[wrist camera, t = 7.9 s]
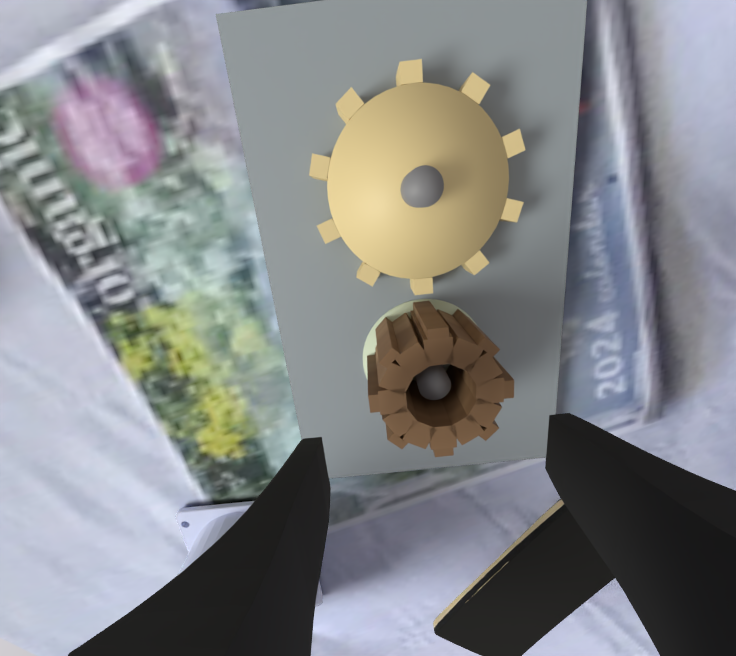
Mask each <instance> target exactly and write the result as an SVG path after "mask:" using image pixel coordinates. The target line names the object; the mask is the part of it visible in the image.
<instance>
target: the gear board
mask: <svg viewBox="0 0 736 656" xmlns="http://www.w3.org/2000/svg"><path fill="white" fill-rule="evenodd" d="M586 9H587V0H323V1H315V2H307V3H299V4H292V5H284V6H276V7H268V8H261V9H253V10H245V11H237V12H229V13H222V14H216V18H217V23H218V28H219V33H220V38H221V43H222V48H223V53H224V58H225V63H226V68H227V73H228V78H229V83H230V88H231V93H232V98H233V102H234V107H235V112H236V117H237V122H238V127H239V132H240V137H241V142H242V147H243V152H244V157H245V162H246V167H247V172H248V177H249V182H250V187H251V192H252V197H253V201H254V206H255V211H256V216H257V221H258V226H259V231H260V236H261V241H262V246H263V251H264V256H265V261H266V266H267V271H268V276H269V281H270V286H271V291H272V295H273V300H274V305H275V310H276V315H277V320H278V325H279V330H280V335H281V340H282V345H283V350H284V355H285V360H286V365H287V370H288V375H289V380H290V385H291V390H292V394H293V399H294V404H295V409H296V414H297V419H298V424H299V429H300V434H301V439H305V438H315V437H322V442H323V447H324V453H325V459H326V465H327V471H328V477H329V479H330V478H340V477H350V476H360V475H371V474H381V473H391V472H402V471H412V470H422V469H432V468H443V467H453V466H463V465H473V464H484V463H494V462H504V461H514V460H525V459H535V458H545V457H546V452H547V439H548V426H549V415H555V414H556V404H557V390H558V377H559V364H560V351H561V338H562V325H563V312H564V298H565V285H566V272H567V259H568V246H569V233H570V219H571V206H572V193H573V180H574V167H575V154H576V141H577V127H578V114H579V101H580V88H581V75H582V62H583V48H584V35H585V22H586ZM421 301H430V302H431V304H432V305H433V306H434V308H435V309H436V311H437V309H439V310H441V311H444V312H446V313H448V314H451V315H453V314H454V313H455V312H456V310H457V309H459V310H460V311H462V312H463V313H464V314H465V315H466V316H468V317H469V318H470V319H471V320H472V321H473V322H474V323H475V324H476V325H477V326H478V327H479V328H480V329H481V330H482V331H483V332H484V333H485V334H486V335H487V336H488V337H489V339H490V340H491V341H492V342H493V343H494V344H495V345H496V346H497V347H498V348H499V349H500V350H499V352H498V353H497V354H496V355H495V356H494V357H495V359H496V360H497V361H498V362H499V363H500V364H501V365H502V367H503V368H504V369H505V370H506V371H507V372H508V373H509V374H510V376H511V377H512V378H513V379H514V398H507V399H504V402H500V404H501V406H502V408H501V410H500V412H499V413H498V415H497V416H496V418H495V419H494V420H495V422H496V423H497V425H498V427H499V429H498V430H497V431H496V432H495V433H494V434H493V435H492V436H491V437H490V438H488V439H487V440H486V441H485V440H484V439H482V438H481V437H480V436H478V437H476V438H474V439H472V440H471V441H469V442H467V443H466V444H464V445H461V443H460V442H459V441H458V439H457V447H455V448H453V450H454V455H453V456H443V457H435V456H434V452H433V450H431V448H430V445H429V444H428V446H427V448H426V449H423V448H421V447H418V446H415V445H412V444H410V443H408V444H407V445H406V446H405V447H404V448H403V449H400V448H399V447H397V446H396V445H394V444H393V443H391V442H390V441H388V440H387V432H386V423H385V422H384V421H383V420H382V415H380V412H374V413H370V407H369V399H368V375H367V356H368V355H375V352H376V351H375V347H376V345H377V341H376V331H375V329H376V328H377V326H378V325H379V324H380V323H381V322H382V320H383V319H384V318H385V317H387V318H388V319H389V320H390V321H392V322H393V321H394V320H396V319H397V318H398V317H400V316H401V315H403V314H404V313H407V315H408V316H409V318H410V319H411V314H410V311H412V310H413V302H421ZM449 366H450V364H444V365H435V366H429V367H428V368H426V369H425V370H423V371H422V372H420V373H419V374H417V375H415V376H414V377H413V380H415V381H416V382H417V386H418V389H419V392H420V394H421V395H422V396H423V397H424V398H426V399H429V400H439V399H441V398H443V397H445V396H446V395H447V394H448V392H449V391H450V388H451V381H450V379H449V377H448V375H447V373H446V371H447V369H448V367H449Z"/></svg>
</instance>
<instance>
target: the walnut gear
mask: <svg viewBox="0 0 736 656" xmlns="http://www.w3.org/2000/svg"><path fill="white" fill-rule="evenodd" d="M410 314H411V319H410V318H409V316H408V315H407V313H404V314H403V315H401V316H400V317H398V318H397V319H396V320H394V321H393V322H392V321H390V320H389V319H388V318H387V317H385V318H384V319H383V320H382V322H381V323H380V324H379V325H378V326H377V328H376V329H375V331H376V341H377V345H376V347H375V351H376V352H375V355H368V356H367V375H368V399H369V407H370V413H374V412H380V415H382V420H383V421H384V422H385V423H386V432H387V440H388V441H390V442H391V443H393V444H394V445H396V446H397V447H399V448H400V449H403V448H404V447H405V446H406V445H407V444H408V443H410V444H412V445H415V446H418V447H421V448H423V449H426V448H427V446H428V444H429V445H430V448H431V450H433V452H434V456H435V457H443V456H453V455H454V450H453V448H455V447H457V439H458V441H459V442H460V443H461V445H464V444H466V443H467V442H469V441H471V440H472V439H474V438H476V437H478V436H480V437H481V438H482V439H484V440H485V441H486V440H487V439H488V438H490V437H491V436H492V435H493V434H494V433H495V432H496V431H497V430H498V429H499V427H498V425H497V423H496V422H495V420H494V419H495V418H496V416H497V415H498V413H499V412H500V410H501V408H502V406H501V404H500V402H504V399H507V398H514V379H513V378H512V377H511V376H510V374H509V373H508V372H507V371H506V370H505V369H504V368H503V367H502V365H501V364H500V363H499V362H498V361H497V360H496V359H495V357H494V356H495V355H496V354H497V353H498V352H499V350H500V349H499V348H498V347H497V346H496V345H495V344H494V343H493V342H492V341H491V340H490V339H489V337H488V336H487V335H486V334H485V333H484V332H483V331H482V330H481V329H480V328H479V327H478V326H477V325H476V324H475V323H474V322H473V321H472V320H471V319H470V318H469V317H468V316H466V315H465V314H464V313H463V312H462V311H460V310H459V309H457V310H456V312H455V313H454V314H453V315H451V314H448V313H446V312H444V311H441V310H439V309H437V311H436V309H435V308H434V306H433V305H432V304H431V302H430V301H421V302H413V310H412V311H410ZM444 364H450V366H449V367H448V369H447V371H446V373H447V375H448V377H449V379H450V381H451V388H450V391H449V392H448V394H447V395H446V396H445V397H443V398H441V399H439V400H429V399H426V398H424V397H423V396H422V395H421V394H420V392H419V389H418V386H417V382H416V381H415V380H413V377H414V376H415V375H417V374H419V373H420V372H422V371H423V370H425V369H426V368H428V367H429V366H435V365H444Z"/></svg>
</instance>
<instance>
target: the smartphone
mask: <svg viewBox="0 0 736 656" xmlns="http://www.w3.org/2000/svg"><path fill="white" fill-rule="evenodd" d="M614 578H615V577H614V575H613V574H612V572H611V571H610V569H609V568H608V566H607V565H606V563H605V562H604V561H603V559H602V558H601V556H600V555H599V553H598V552H597V550H596V549H595V548H594V546H593V545H592V543H591V542H590V540H589V539H588V538H587V536H586V535H585V533H584V532H583V530H582V529H581V527H580V526H579V525H578V523H577V522H576V520H575V519H574V517H573V516H572V514H571V513H570V511H569V510H568V508H567V507H566V505H565V504H564V502H563V501H562V499H561V500H560V501H558V502H557V503H556V504H555V505H554V506H552V507H551V508H550V509H549V510H548V511H547V512H546V513H545V514H543V515H542V516H541V517H540V518H539V519H538V520H537V521H536V522H535V523H534V524H533V525H532V526H531V527H530V528H529V529H528V530H527V531H526V532H525V533H524V534H523V535H522V536H521V537H520V538H518V539H517V540H516V541H515V542H514V543H513V544H512V545H511V546H510V547H509V548H508V549H507V550H506V551H505V552H504V553H503V554H502V555H501V556H500V557H499V558H498V559H497V560H496V561H495V562H494V563H492V564H491V565H490V566H489V567H488V568H487V569H486V570H485V571H484V572H483V573H482V574H481V575H480V576H479V577H478V578H477V579H476V580H475V581H474V582H473V583H472V584H471V585H470V586H469V587H468V588H466V589H465V590H464V591H463V592H462V593H461V594H460V595H459V596H458V597H457V598H456V599H455V600H454V601H453V602H452V603H451V604H450V605H449V606H448V607H447V608H446V609H445V610H444V611H443V612H442V613H441V614H440V615H439V616H438V617H437V618H436V619H435V621H434V622H433V626H434V631H435V634H436V635H438V636H440V637H442V638H444V639H446V640H448V641H450V642H452V643H454V644H457V645H459V646H461V647H463V648H465V649H468V650H470V651H472V652H474V653H477V654H479V655H482V656H522V655H523V654H524V653H525V652H526V651H527V650H528V649H529V648H531V647H532V646H533V645H534V644H535V643H536V642H537V641H539V640H540V639H541V638H542V637H543V636H544V635H546V634H547V633H548V632H549V631H550V630H552V629H553V628H554V627H555V626H556V625H558V624H559V623H560V622H561V621H562V620H564V619H565V618H566V617H567V616H568V615H570V614H571V613H572V612H573V611H574V610H576V609H577V608H578V607H579V606H581V605H582V604H583V603H584V602H586V601H587V600H588V599H589V598H591V597H592V596H593V595H594V594H595V593H597V592H598V591H599V590H600V589H602V588H603V587H604V586H605V585H607V584H608V583H609V582H610V581H612V580H613V579H614Z"/></svg>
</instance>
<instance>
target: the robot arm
mask: <svg viewBox="0 0 736 656" xmlns="http://www.w3.org/2000/svg"><path fill="white" fill-rule="evenodd" d="M545 469H546V471H547V473H548V475H549V477H550V479H551V481H552V483H553V485H554V487H555V488H556V490H557V492H558V494H559V496H560V498H561V499H562V501H563V502H564V504H565V505H566V507H567V508H568V510H569V511H570V513H571V514H572V516H573V517H574V519H575V520H576V522H577V523H578V525H579V526H580V527H581V529H582V530H583V532H584V533H585V535H586V536H587V538H588V539H589V540H590V542H591V543H592V545H593V546H594V548H595V549H596V550H597V552H598V553H599V555H600V556H601V558H602V559H603V561H604V562H605V563H606V565H607V566H608V568H609V569H610V571H611V572H612V574H613V575H614V577H615V578H616V580H617V581H618V583H619V584H620V586H621V588H622V589H623V591H624V592H625V594H626V596H627V598H628V599H629V601H630V603H631V604H632V606H633V608H634V610H635V611H636V613H637V615H638V617H639V618H640V620H641V622H642V624H643V625H644V627H645V629H646V631H647V632H648V634H649V636H650V638H651V640H652V641H653V643H654V645H655V647H656V649H657V650H658V652H659V654H660V656H736V491H735V490H732V489H730V488H727V487H725V486H722V485H720V484H717V483H715V482H712V481H710V480H707V479H705V478H703V477H700V476H698V475H696V474H693V473H691V472H689V471H687V470H684V469H682V468H680V467H678V466H676V465H673V464H671V463H669V462H667V461H665V460H662V459H660V458H658V457H656V456H654V455H652V454H650V453H648V452H646V451H644V450H642V449H640V448H638V447H636V446H634V445H632V444H630V443H628V442H626V441H624V440H622V439H620V438H618V437H616V436H614V435H612V434H610V433H608V432H607V431H605V430H603V429H601V428H599V427H597V426H595V425H593V424H591V423H589V422H587V421H585V420H583V419H581V418H579V417H577V416H574V415H572V414H570V413H565V414H555V415H549V426H548V439H547V452H546V466H545ZM329 509H330V482H329V477H328V471H327V465H326V459H325V453H324V447H323V442H322V437H315V438H305V439H302V440H301V441H300V443H299V444H298V445H297V447H296V448H295V450H294V451H293V452H292V454H291V455H290V457H289V458H288V459H287V461H286V462H285V463H284V465H283V466H282V468H281V469H280V470H279V471H278V473H277V474H276V475H275V477H274V478H273V479H272V481H271V482H270V483H269V484H268V486H267V487H266V488H265V489H264V491H263V492H262V493H261V494H260V495H259V497H258V498H257V499H256V500H255V501H248V502H238V503H228V504H217V505H207V506H196V507H186V508H181V509H179V510H178V512H177V514H176V516H175V517H176V521H177V523H178V526H179V529H180V532H181V534H182V537H183V540H184V542H185V545H186V548H187V550H188V555H187V557H186V559H185V561H184V563H183V565H182V567H181V569H180V571H179V573H178V575H177V576H176V577H175V578H174V579H173V580H171V581H170V582H169V583H168V584H166V585H165V586H164V587H163V588H161V589H160V590H159V591H157V592H156V593H155V594H153V595H152V596H151V597H149V598H148V599H147V600H145V601H144V602H143V603H142V604H140V605H139V606H137V607H136V608H135V609H133V610H132V611H131V612H129V613H128V614H126V615H125V616H124V617H122V618H121V619H119V620H118V621H116V622H115V623H113V624H112V625H110V626H109V627H107V628H106V629H105V630H103V631H102V632H100V633H99V634H97V635H96V636H94V637H93V638H91V639H90V640H88V641H87V642H86V643H84V644H83V645H81V646H80V647H78V648H76V649H75V650H73V651H72V652H70V653H69V655H68V656H311V643H312V631H313V619H314V611H315V606H319V605H321V604H322V601H323V594H322V590H321V585H320V580H319V578H320V572H321V566H322V560H323V554H324V548H325V542H326V535H327V529H328V523H329Z"/></svg>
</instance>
